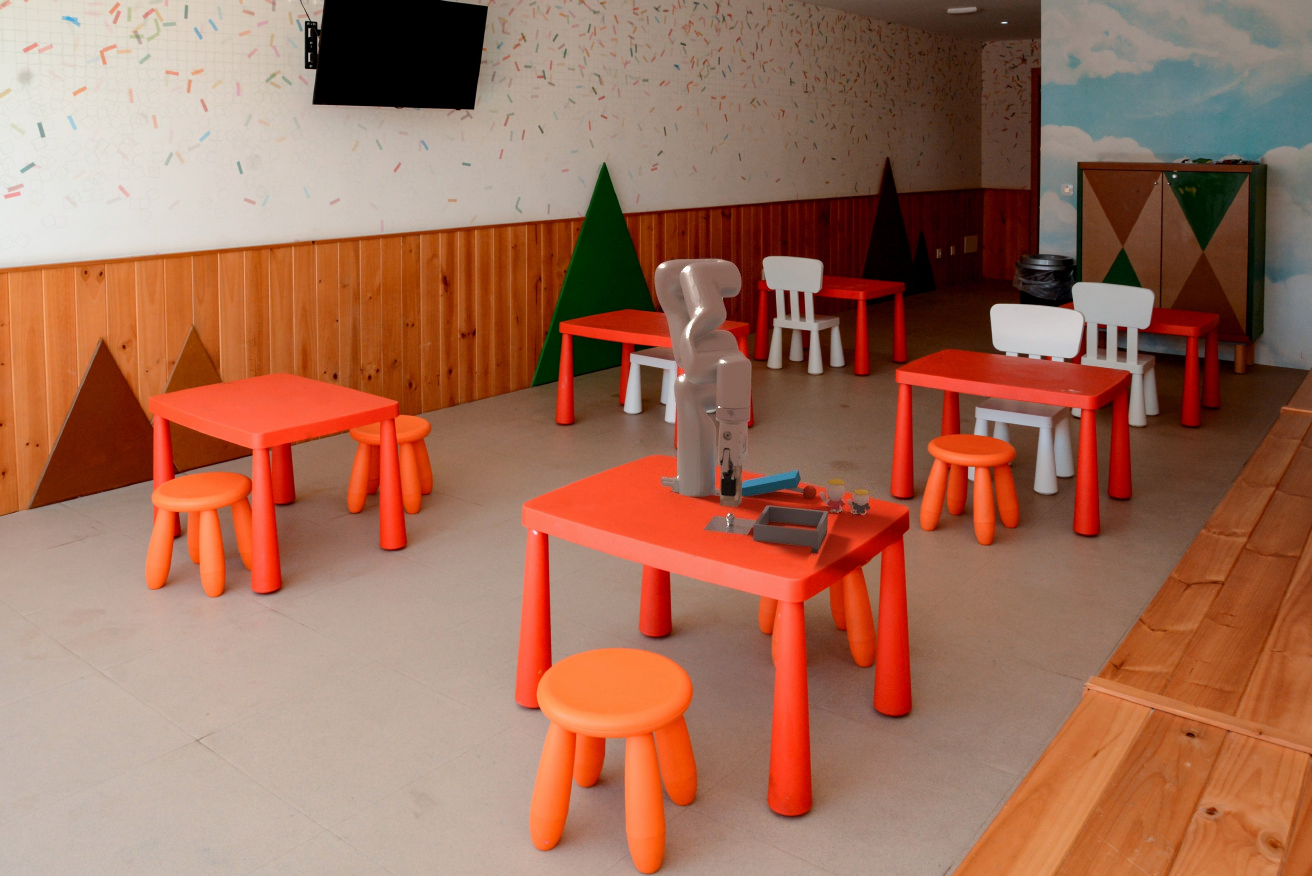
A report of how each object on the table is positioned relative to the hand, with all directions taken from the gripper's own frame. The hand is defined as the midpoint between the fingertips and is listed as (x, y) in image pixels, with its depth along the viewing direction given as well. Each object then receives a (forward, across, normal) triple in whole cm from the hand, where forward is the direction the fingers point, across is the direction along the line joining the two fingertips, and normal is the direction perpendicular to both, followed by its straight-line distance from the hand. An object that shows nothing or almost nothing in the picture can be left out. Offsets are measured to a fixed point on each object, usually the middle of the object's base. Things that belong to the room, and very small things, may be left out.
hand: (730, 491), depth 237 cm
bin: (+9, -1, -14) cm, 17 cm away
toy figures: (+10, +21, -23) cm, 33 cm away
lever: (+10, +29, -6) cm, 31 cm away
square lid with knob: (+9, 0, 0) cm, 9 cm away
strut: (+3, 0, 0) cm, 3 cm away
